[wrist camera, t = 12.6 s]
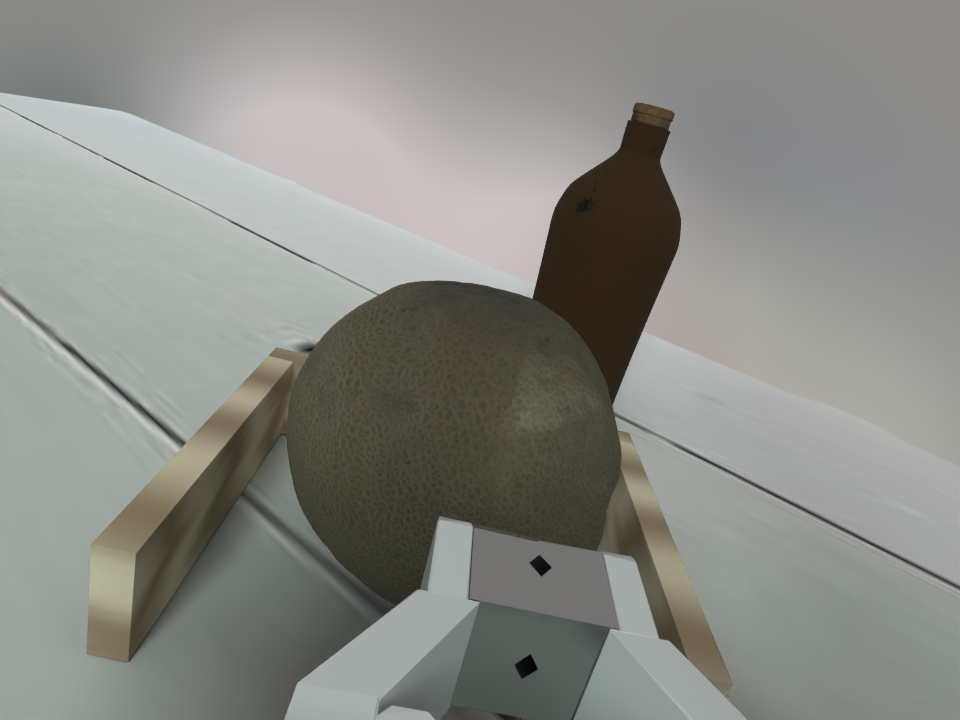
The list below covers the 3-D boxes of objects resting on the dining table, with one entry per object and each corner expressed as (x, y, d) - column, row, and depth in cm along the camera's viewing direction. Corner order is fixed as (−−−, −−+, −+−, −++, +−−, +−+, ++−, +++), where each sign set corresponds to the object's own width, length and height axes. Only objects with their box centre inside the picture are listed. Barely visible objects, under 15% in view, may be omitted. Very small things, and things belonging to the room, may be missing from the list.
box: (683, 776, 25) (732, 684, 23) (86, 653, 23) (91, 544, 22) (604, 497, 43) (628, 433, 41) (265, 417, 42) (276, 347, 40)
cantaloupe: (459, 482, 40) (523, 253, 35) (619, 651, 30) (744, 366, 25) (227, 522, 32) (266, 226, 26) (345, 777, 22) (446, 383, 16)
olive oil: (611, 434, 53) (727, 120, 44) (491, 390, 55) (580, 82, 46) (622, 392, 63) (719, 128, 54) (520, 356, 65) (598, 97, 56)
